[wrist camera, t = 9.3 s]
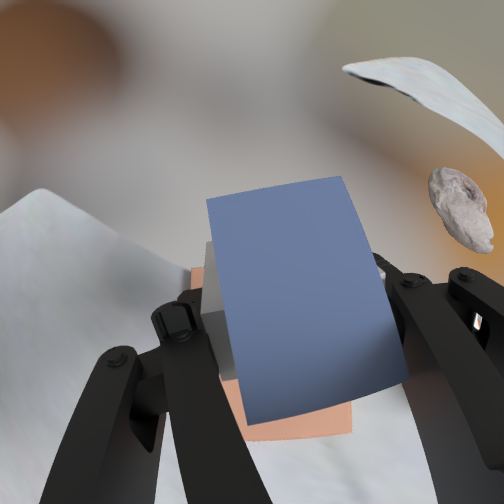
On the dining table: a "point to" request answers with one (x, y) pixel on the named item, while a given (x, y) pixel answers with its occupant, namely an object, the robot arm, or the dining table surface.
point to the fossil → (461, 208)
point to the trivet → (289, 428)
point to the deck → (302, 300)
